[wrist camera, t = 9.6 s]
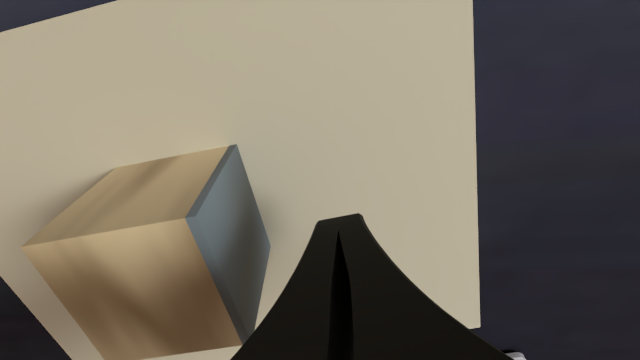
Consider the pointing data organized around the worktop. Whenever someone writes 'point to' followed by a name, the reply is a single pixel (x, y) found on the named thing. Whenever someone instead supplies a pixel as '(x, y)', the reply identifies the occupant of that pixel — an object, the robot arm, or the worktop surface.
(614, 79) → the worktop surface
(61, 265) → the cube
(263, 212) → the mat
